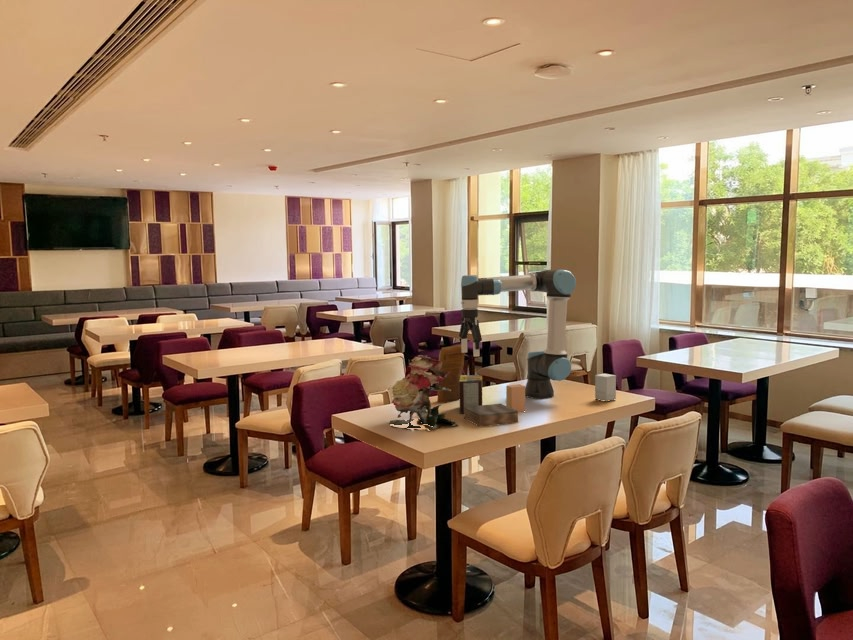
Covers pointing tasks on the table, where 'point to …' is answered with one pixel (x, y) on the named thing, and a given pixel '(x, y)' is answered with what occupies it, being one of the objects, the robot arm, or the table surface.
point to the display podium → (490, 414)
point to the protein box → (470, 391)
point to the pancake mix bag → (451, 372)
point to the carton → (515, 397)
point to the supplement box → (605, 387)
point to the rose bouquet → (420, 392)
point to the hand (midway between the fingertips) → (470, 354)
